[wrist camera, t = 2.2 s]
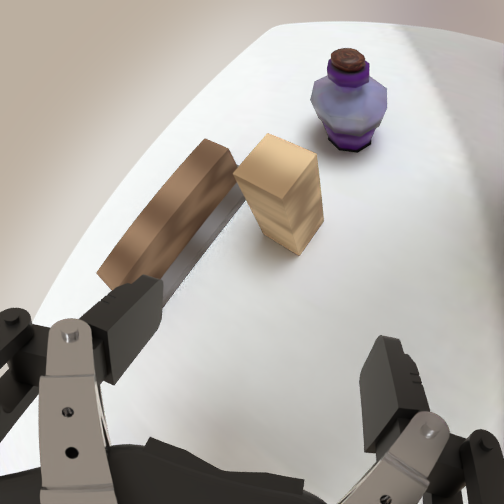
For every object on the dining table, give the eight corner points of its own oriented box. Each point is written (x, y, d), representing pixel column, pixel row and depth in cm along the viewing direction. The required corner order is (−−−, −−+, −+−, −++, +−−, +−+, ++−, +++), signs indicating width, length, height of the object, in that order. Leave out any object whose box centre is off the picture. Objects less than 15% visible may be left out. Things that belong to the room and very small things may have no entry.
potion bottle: (395, 128, 34) (404, 50, 23) (365, 174, 33) (371, 92, 22) (336, 103, 37) (328, 27, 27) (301, 144, 36) (285, 65, 25)
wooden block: (288, 201, 34) (267, 133, 24) (323, 221, 32) (316, 153, 22) (263, 234, 33) (232, 173, 23) (299, 256, 31) (281, 199, 21)
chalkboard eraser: (217, 159, 38) (199, 127, 33) (261, 180, 36) (248, 147, 30) (115, 287, 35) (83, 271, 30) (151, 323, 32) (118, 312, 27)
